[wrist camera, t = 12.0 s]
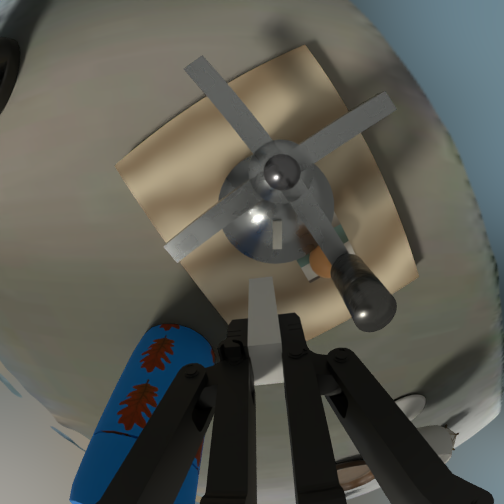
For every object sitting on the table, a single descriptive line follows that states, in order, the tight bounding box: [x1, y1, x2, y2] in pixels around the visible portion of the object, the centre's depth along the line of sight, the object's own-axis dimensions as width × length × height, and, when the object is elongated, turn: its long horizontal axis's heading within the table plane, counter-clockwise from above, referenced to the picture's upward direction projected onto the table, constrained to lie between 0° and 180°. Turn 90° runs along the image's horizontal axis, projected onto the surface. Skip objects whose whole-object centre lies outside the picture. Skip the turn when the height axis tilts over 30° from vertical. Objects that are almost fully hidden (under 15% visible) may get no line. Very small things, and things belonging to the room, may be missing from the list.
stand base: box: [115, 45, 419, 341], centre depth 27 cm, size 28×22×2 cm
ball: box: [309, 245, 332, 278], centre depth 25 cm, size 4×4×4 cm
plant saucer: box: [336, 460, 375, 491], centre depth 50 cm, size 21×21×3 cm
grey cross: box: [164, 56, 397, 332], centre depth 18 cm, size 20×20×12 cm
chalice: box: [395, 394, 452, 463], centre depth 34 cm, size 14×14×15 cm
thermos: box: [69, 324, 215, 504], centre depth 23 cm, size 11×11×25 cm
